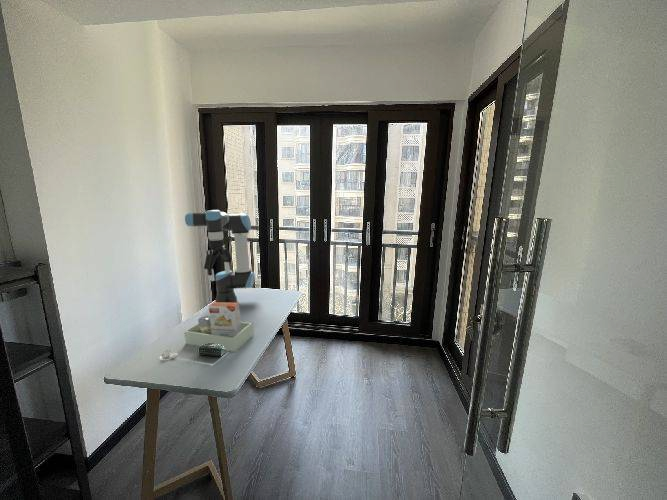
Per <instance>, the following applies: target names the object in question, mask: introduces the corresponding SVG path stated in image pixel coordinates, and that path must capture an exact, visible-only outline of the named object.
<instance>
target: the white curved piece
mask: <svg viewBox="0 0 667 500" xmlns="http://www.w3.org/2000/svg"><path fill="white" fill-rule="evenodd" d="M163 353H164V354H161V355H160V356H159V358H158V359H159V360H160V361H169V360H172V359H175V358H177V357H178V355H179V354H178V353H177V352H174V353H172V347H166V348H164V349H163ZM164 356H165V358H163V357H164Z"/></svg>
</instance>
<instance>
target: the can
mask: <svg viewBox="0 0 667 500" xmlns="http://www.w3.org/2000/svg"><path fill="white" fill-rule="evenodd" d="M197 321H198V323H199V331H200V333H204V334H210V335H212V332H211V322H210V315H205V316H202V317H201V316H200V317H199V318H198V319H197Z"/></svg>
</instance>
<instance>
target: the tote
mask: <svg viewBox="0 0 667 500" xmlns="http://www.w3.org/2000/svg"><path fill="white" fill-rule="evenodd" d="M240 322H241V331H240V332H239V333H238V334H237V335H235V336H234V337H233V338H231V337H224V336H217V335H210V334H204V333H200V331H199V322H198V323H196V324H194V325H193V326H191V327H189V328H187V329H186V330H184V331H183V333H184V340H185V344H186V345H190V346H197V347H202V345H204V344H206V343H216V344H221V345H223V346H224V348H225V350H224V351H227V352H228V353H236V352H237V351H238V350H239V349H240V348H241V347H242V346H244V345H245V344H246V343H247V342H248V341H250V339H251V338H253V336H254V325H253V322H246V321H240Z"/></svg>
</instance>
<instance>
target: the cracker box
mask: <svg viewBox="0 0 667 500" xmlns="http://www.w3.org/2000/svg"><path fill="white" fill-rule="evenodd" d="M239 304H240V302H236V303H232V302H215V301H213V302H212V303H211V304H210V305H208V311H209V316H210V322H211V332H212V335H217V336H224V337H231V338H233V337H234V336H235V335H237V334H238V333H239V332H240V331H241V322H242V321H241V314H240V305H239Z"/></svg>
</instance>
